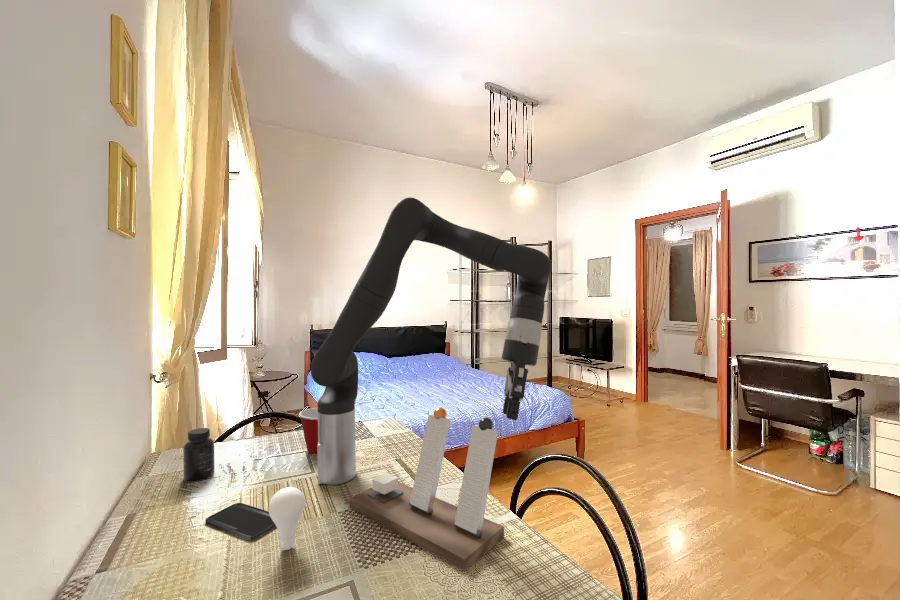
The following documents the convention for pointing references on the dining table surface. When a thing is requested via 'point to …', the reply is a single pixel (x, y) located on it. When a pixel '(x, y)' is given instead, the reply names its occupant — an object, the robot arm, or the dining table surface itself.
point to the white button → (385, 483)
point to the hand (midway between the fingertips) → (509, 416)
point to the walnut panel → (427, 525)
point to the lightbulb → (287, 514)
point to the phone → (242, 521)
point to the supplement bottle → (198, 455)
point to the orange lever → (430, 462)
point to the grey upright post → (476, 478)
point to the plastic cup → (310, 429)
